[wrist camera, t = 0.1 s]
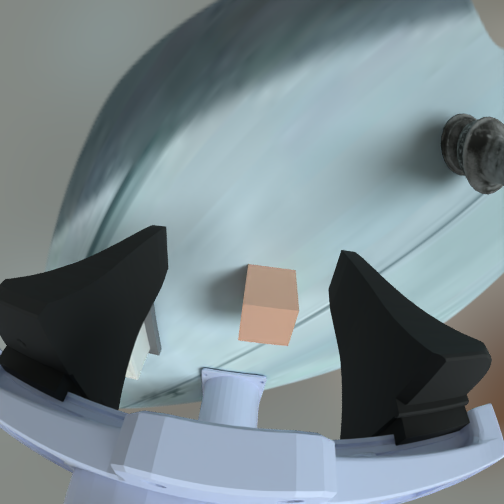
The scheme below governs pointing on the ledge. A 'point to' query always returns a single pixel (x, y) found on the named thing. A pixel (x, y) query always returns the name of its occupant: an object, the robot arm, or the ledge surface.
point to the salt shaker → (475, 151)
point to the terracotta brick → (269, 305)
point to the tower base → (153, 332)
